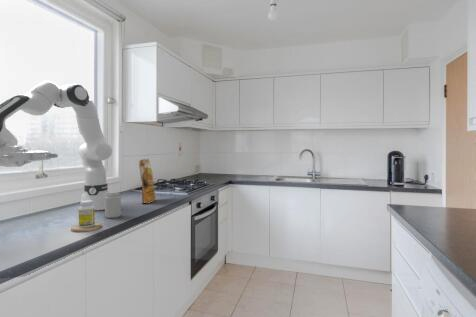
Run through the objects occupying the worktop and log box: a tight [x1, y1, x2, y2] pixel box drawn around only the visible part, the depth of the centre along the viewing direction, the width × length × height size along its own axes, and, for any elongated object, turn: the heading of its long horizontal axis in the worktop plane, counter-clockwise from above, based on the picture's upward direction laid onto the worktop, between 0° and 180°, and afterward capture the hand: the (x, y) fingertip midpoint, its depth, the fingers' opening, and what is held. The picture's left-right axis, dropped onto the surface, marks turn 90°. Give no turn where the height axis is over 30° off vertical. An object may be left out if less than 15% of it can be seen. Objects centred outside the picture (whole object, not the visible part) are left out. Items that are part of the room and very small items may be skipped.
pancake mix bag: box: [138, 158, 157, 204], centre depth 179 cm, size 7×19×28 cm, turn 174°
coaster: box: [70, 222, 103, 233], centre depth 122 cm, size 12×12×1 cm
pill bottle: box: [78, 200, 96, 228], centre depth 122 cm, size 6×6×11 cm
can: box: [104, 192, 122, 219], centre depth 141 cm, size 8×8×12 cm
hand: (51, 155), depth 118 cm, fingers open, 8 cm apart
